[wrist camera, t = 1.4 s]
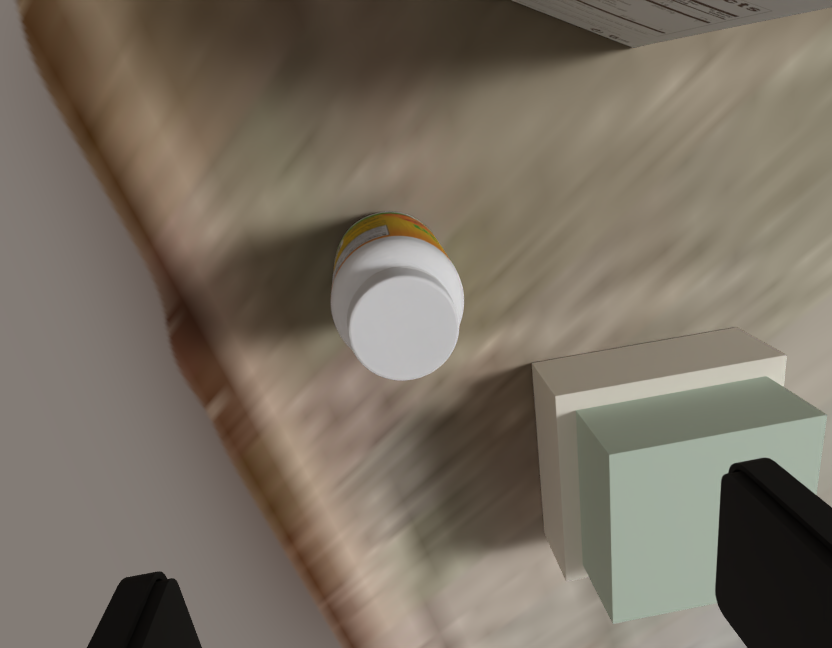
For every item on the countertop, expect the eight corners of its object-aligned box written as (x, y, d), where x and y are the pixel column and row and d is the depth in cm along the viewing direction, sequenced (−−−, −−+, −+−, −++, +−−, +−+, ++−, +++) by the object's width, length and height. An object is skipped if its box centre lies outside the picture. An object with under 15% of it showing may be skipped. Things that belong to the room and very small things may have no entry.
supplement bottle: (459, 276, 30) (507, 348, 21) (373, 331, 30) (383, 424, 21) (404, 188, 28) (429, 224, 19) (313, 248, 29) (295, 311, 20)
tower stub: (531, 363, 32) (586, 439, 25) (737, 327, 33) (851, 390, 25) (544, 533, 36) (593, 642, 29) (725, 498, 37) (820, 597, 30)
